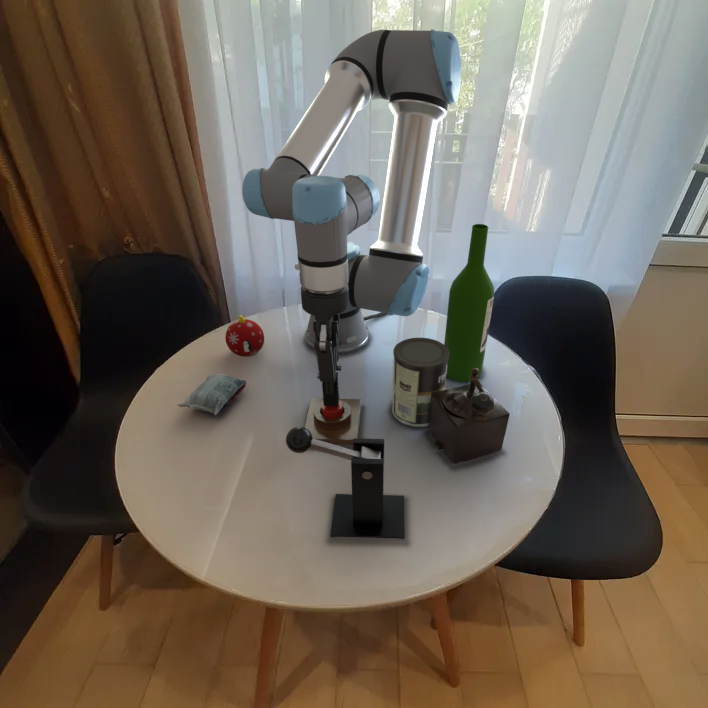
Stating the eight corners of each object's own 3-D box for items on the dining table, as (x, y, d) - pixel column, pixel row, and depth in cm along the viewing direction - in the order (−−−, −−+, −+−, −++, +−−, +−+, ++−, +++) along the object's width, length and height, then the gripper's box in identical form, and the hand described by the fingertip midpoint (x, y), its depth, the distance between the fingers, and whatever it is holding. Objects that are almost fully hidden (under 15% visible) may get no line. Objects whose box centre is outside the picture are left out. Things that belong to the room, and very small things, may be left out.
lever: (280, 454, 65) (287, 435, 63) (285, 436, 68) (292, 418, 66) (372, 480, 68) (381, 463, 66) (373, 461, 71) (382, 445, 69)
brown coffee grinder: (422, 432, 92) (429, 352, 82) (472, 418, 96) (485, 340, 85) (464, 490, 81) (477, 405, 70) (519, 472, 84) (540, 389, 74)
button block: (311, 406, 98) (310, 390, 96) (361, 407, 98) (360, 391, 96) (302, 447, 88) (300, 431, 86) (357, 449, 88) (356, 432, 86)
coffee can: (445, 398, 101) (451, 340, 92) (439, 431, 93) (446, 370, 84) (396, 392, 102) (398, 334, 94) (387, 423, 94) (388, 362, 86)
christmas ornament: (265, 342, 118) (259, 305, 112) (267, 361, 111) (262, 322, 105) (228, 346, 116) (221, 309, 110) (229, 366, 109) (220, 327, 103)
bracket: (330, 540, 72) (324, 470, 64) (335, 498, 79) (331, 430, 70) (404, 542, 72) (408, 472, 64) (403, 500, 79) (407, 432, 70)
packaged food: (180, 415, 95) (174, 395, 92) (214, 381, 104) (210, 362, 101) (219, 424, 93) (215, 404, 90) (250, 389, 102) (247, 370, 100)
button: (323, 405, 93) (322, 398, 92) (343, 405, 93) (343, 398, 92) (320, 418, 89) (319, 411, 88) (342, 419, 89) (341, 412, 88)
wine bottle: (481, 384, 105) (505, 236, 86) (440, 379, 106) (454, 232, 87) (482, 361, 112) (504, 220, 93) (443, 357, 113) (457, 217, 94)
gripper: (306, 267, 81) (315, 382, 95) (293, 302, 71) (306, 425, 84) (351, 268, 81) (354, 383, 95) (344, 303, 70) (349, 427, 84)
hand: (331, 403), depth 90 cm, fingers closed
